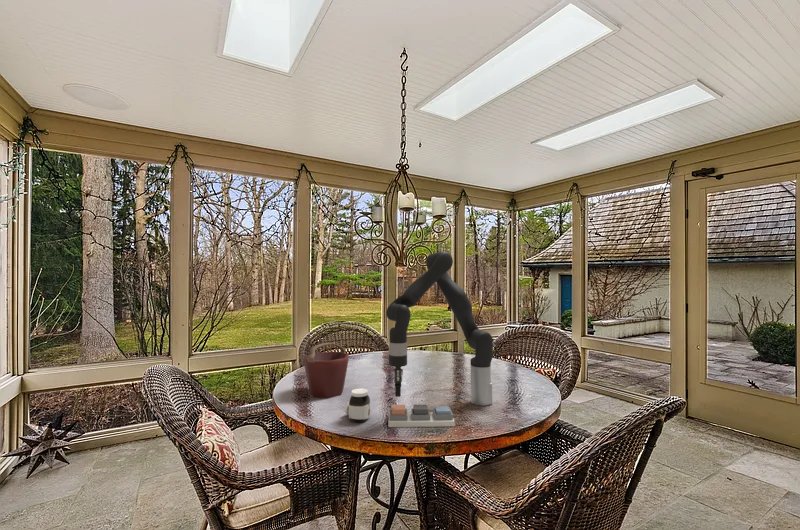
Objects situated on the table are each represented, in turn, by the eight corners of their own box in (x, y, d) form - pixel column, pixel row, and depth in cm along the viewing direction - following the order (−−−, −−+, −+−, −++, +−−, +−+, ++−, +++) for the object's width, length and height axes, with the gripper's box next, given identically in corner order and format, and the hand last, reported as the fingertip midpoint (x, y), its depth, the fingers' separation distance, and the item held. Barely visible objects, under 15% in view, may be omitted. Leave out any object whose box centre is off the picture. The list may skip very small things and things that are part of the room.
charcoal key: (426, 410, 159) (426, 404, 159) (428, 415, 153) (428, 409, 153) (413, 410, 159) (413, 404, 159) (414, 415, 153) (414, 409, 153)
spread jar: (364, 424, 153) (363, 395, 153) (338, 422, 156) (338, 393, 156) (374, 414, 165) (374, 386, 165) (349, 411, 168) (349, 384, 168)
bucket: (313, 403, 178) (313, 349, 178) (293, 392, 195) (293, 343, 195) (358, 393, 193) (357, 343, 194) (335, 383, 210) (335, 337, 211)
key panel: (450, 416, 161) (450, 407, 161) (454, 426, 151) (454, 416, 151) (388, 417, 161) (388, 407, 161) (388, 427, 151) (388, 416, 151)
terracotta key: (405, 410, 159) (405, 404, 159) (405, 415, 153) (405, 409, 153) (391, 410, 158) (391, 404, 159) (391, 415, 153) (391, 409, 153)
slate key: (448, 411, 159) (448, 406, 159) (450, 417, 153) (450, 411, 153) (435, 412, 159) (435, 406, 159) (436, 417, 153) (436, 411, 153)
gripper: (407, 356, 150) (407, 401, 149) (406, 350, 163) (406, 391, 163) (388, 356, 150) (388, 401, 149) (389, 350, 163) (388, 391, 162)
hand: (397, 396), depth 156 cm, fingers closed
